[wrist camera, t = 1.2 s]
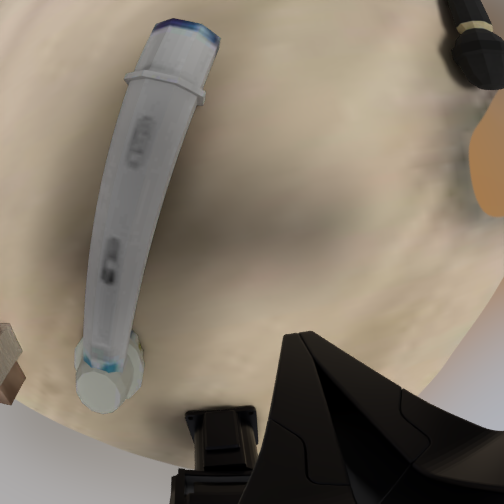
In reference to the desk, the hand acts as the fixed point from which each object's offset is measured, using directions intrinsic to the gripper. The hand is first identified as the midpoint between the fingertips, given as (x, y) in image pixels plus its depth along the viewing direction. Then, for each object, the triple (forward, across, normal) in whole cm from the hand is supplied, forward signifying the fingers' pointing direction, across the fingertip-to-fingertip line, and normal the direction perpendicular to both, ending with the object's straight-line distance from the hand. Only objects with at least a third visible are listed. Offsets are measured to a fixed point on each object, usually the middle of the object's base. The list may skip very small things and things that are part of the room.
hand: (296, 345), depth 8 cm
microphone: (+12, -18, -20) cm, 30 cm away
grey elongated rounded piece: (+12, +7, 0) cm, 15 cm away
